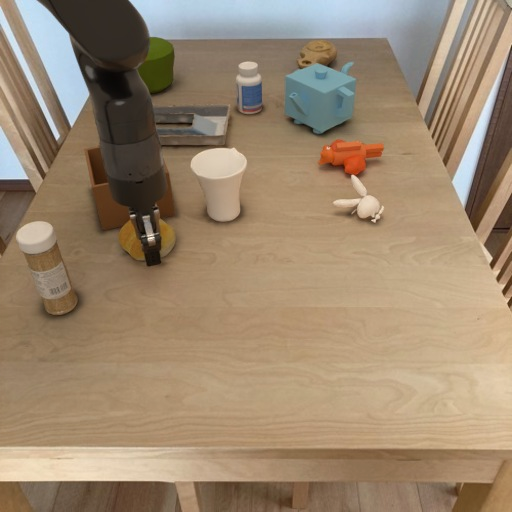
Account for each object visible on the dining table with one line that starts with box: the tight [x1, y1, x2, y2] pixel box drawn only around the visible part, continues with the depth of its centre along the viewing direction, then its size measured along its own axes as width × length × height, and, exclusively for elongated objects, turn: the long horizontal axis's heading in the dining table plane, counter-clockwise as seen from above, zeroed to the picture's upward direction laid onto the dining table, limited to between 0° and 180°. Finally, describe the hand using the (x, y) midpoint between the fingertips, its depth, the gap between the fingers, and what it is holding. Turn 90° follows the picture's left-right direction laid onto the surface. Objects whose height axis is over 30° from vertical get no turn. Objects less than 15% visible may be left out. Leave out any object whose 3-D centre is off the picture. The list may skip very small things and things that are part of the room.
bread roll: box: [117, 218, 177, 262], centre depth 86 cm, size 8×9×4 cm
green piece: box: [137, 36, 176, 94], centre depth 126 cm, size 12×12×11 cm
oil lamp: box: [296, 39, 338, 69], centre depth 134 cm, size 11×14×5 cm
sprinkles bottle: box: [15, 220, 79, 316], centre depth 73 cm, size 5×5×13 cm
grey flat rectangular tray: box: [153, 103, 232, 146], centre depth 113 cm, size 13×25×3 cm, turn 89°
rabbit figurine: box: [332, 174, 385, 224], centre depth 91 cm, size 6×4×8 cm
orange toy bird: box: [318, 138, 385, 176], centre depth 101 cm, size 5×8×12 cm
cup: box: [190, 147, 248, 223], centre depth 90 cm, size 9×9×10 cm
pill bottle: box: [235, 61, 263, 115], centre depth 117 cm, size 6×5×10 cm
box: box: [83, 145, 176, 231], centre depth 93 cm, size 12×12×8 cm
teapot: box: [284, 61, 358, 135], centre depth 112 cm, size 16×18×11 cm
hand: (153, 262), depth 82 cm, fingers closed
